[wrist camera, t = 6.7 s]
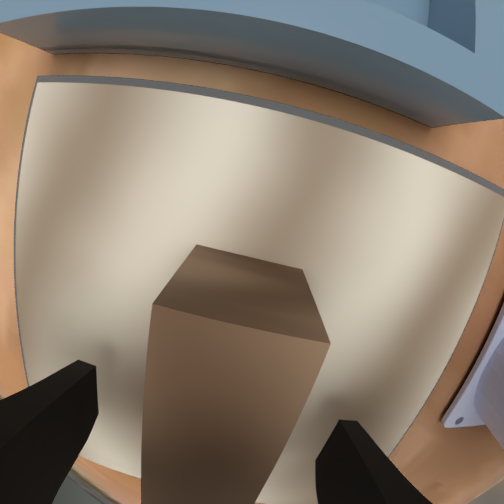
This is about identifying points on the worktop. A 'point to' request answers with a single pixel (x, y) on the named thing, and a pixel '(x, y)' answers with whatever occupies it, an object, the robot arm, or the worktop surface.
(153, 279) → the lid
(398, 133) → the worktop surface
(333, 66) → the dish
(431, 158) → the mat
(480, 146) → the worktop surface
